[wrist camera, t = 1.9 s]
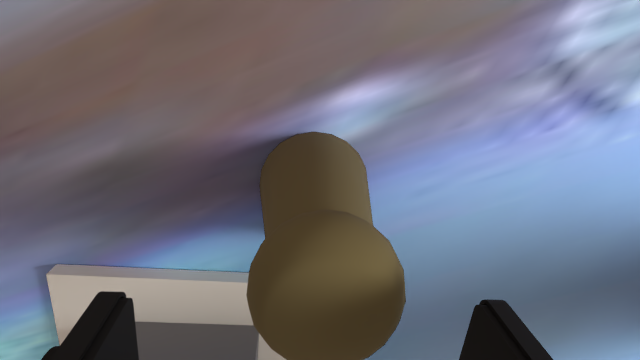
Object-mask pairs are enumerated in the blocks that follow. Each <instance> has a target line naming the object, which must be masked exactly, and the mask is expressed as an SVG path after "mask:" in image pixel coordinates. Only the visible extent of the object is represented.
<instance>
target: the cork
mask: <svg viewBox="0 0 640 360" xmlns="http://www.w3.org/2000/svg"><path fill="white" fill-rule="evenodd" d="M260 194H261V203H262V213H263V222H264V231H265V240H264V241H263V243H262V244H261V246H260V248H259V250H258V252H257V253H256V255H255V257H254V259H253V261H252V263H251V266H250V271H249V276H248V285H247V294H246V296H247V301H248V307H249V310H250V314H251V317H252V321H253V325H254V327H255V328H256V330H257V331H258V332H259V334H260V335H261V336H262V338H263V339H264V340H265V342H266V343H267V344H268V345H269V347H270V348H271V349H272V350H273V351H275V352H276V353H278V354H279V355H281V356H282V357H283V358H285V359H286V360H363V359H365V358H368V357H369V356H371V355H372V354H373V353H375V352H376V351H377V350H378V349H380V348H381V347H382V346H384V345H385V343H386V342H387V341H388V339H389V338H390V336H391V335H392V334H393V332H394V331H395V329H396V327H397V325H398V323H399V321H400V319H401V315H402V312H403V308H404V305H405V302H406V297H405V282H404V271H403V268H402V266H401V264H400V261H399V259H398V257H397V255H396V253H395V251H394V249H393V247H392V246H391V244H390V242H389V240H388V239H386V238H385V237H384V236H383V235H382V234H381V233H380V232H379V231H378V230H377V229H376V228H375V227H374V226H373V222H372V214H371V206H370V198H369V190H368V182H367V174H366V168H365V165H364V163H363V161H362V159H361V157H360V155H359V153H358V152H357V151H356V150H355V149H354V148H353V147H352V146H351V145H350V144H349V143H347V142H346V141H344V140H342V139H340V138H338V137H336V136H334V135H332V134H326V133H319V132H309V133H303V134H297V135H295V136H293V137H291V138H289V139H287V140H285V141H283V142H281V143H280V144H279V145H278V146H277V147H276V148H275V149H274V150H273V151H272V152H271V153H270V154H269V155H268V157H267V159H266V161H265V163H264V165H263V167H262V169H261V177H260Z"/></svg>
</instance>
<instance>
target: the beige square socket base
mask: <svg viewBox="0 0 640 360" xmlns="http://www.w3.org/2000/svg"><path fill="white" fill-rule="evenodd" d="M46 276H47V282H48V287H49V292H50V297H51V302H52V308H53V313H54V318H55V323H56V329H57V334H58V339H59V344H60V345H61V344H62V342H63V341H64V340H65V338H66V337H67V335H68V334H69V333H70V331H71V330H72V328H73V327H74V325H75V324H76V323H77V321H78V320H79V318H80V317H81V316H82V314H83V313H84V311H85V310H86V309H87V307H88V306H89V304H90V303H91V302H92V300H93V299H94V297H95V296H96V295H97V294H98V293H99V292H101V291H108V292H125V294H126V298H132V300H133V305H134V315H135V325H136V335H137V345H138V355H139V360H286V359H285V358H283V357H282V356H281V355H279V354H278V353H276V352H275V351H273V350H272V349H271V348H270V347H269V345H268V344H267V343H266V342H265V340H264V339H263V338H262V336H261V335H260V334H259V332H258V331H257V330H256V328H255V327H254V325H253V321H252V317H251V314H250V310H249V307H248V301H247V296H246V294H247V285H248V276H249V273H245V272H222V271H200V270H177V269H155V268H132V267H110V266H88V265H65V264H56V265H55V266H54V267H53V268H52V269H51V270H50V271H49V272H48V273H47V274H46Z"/></svg>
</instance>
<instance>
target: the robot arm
mask: <svg viewBox="0 0 640 360" xmlns="http://www.w3.org/2000/svg"><path fill="white" fill-rule="evenodd" d="M41 360H139V355H138V345H137V335H136V325H135V315H134V305H133V300H132V298H126V294H125V292H108V291H101V292H99V293H98V294H97V295H96V296H95V297H94V299H93V300H92V302H91V303H90V304H89V306H88V307H87V309H86V310H85V311H84V313H83V314H82V316H81V317H80V318H79V320H78V321H77V323H76V324H75V325H74V327H73V328H72V330H71V331H70V333H69V334H68V335H67V337H66V338H65V340H64V341H63V342H62V344H61V345H60V346H54V347H53V348H51V349H50V350H49V351H48V352H47V353H46V354H45V355H44V357H43V358H42V359H41ZM459 360H553V359H552V358H551V356H550V355H549V354H548V353H547V351H546V350H545V349H544V348H543V347H542V345H541V344H540V343H539V342H538V340H537V339H536V338H535V337H534V335H533V334H532V333H531V332H530V331H529V329H528V328H527V327H526V326H525V324H524V323H523V322H522V321H521V319H520V318H519V317H518V316H517V315H516V313H515V312H514V311H513V310H512V308H511V307H510V306H509V305H508V303H506V302H505V301H503V300H482V301H481V302H480V304H479V305H476V306H475V308H474V311H473V314H472V317H471V321H470V324H469V328H468V331H467V334H466V338H465V341H464V345H463V348H462V351H461V355H460V358H459Z"/></svg>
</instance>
